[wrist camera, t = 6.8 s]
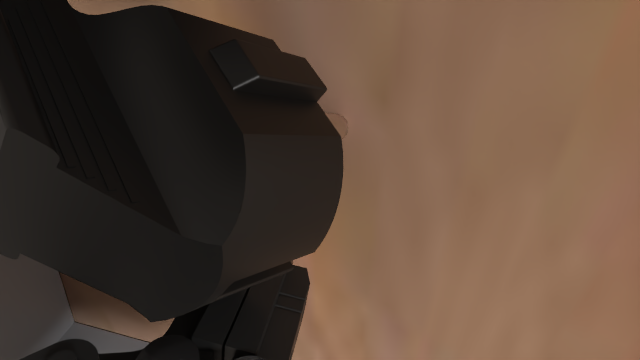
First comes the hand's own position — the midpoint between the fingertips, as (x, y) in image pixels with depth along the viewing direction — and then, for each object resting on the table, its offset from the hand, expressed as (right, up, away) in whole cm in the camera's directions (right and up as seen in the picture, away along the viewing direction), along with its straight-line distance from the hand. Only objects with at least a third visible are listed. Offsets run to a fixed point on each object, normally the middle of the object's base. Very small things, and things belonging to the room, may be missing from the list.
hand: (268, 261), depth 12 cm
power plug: (-3, +7, -1) cm, 7 cm away
